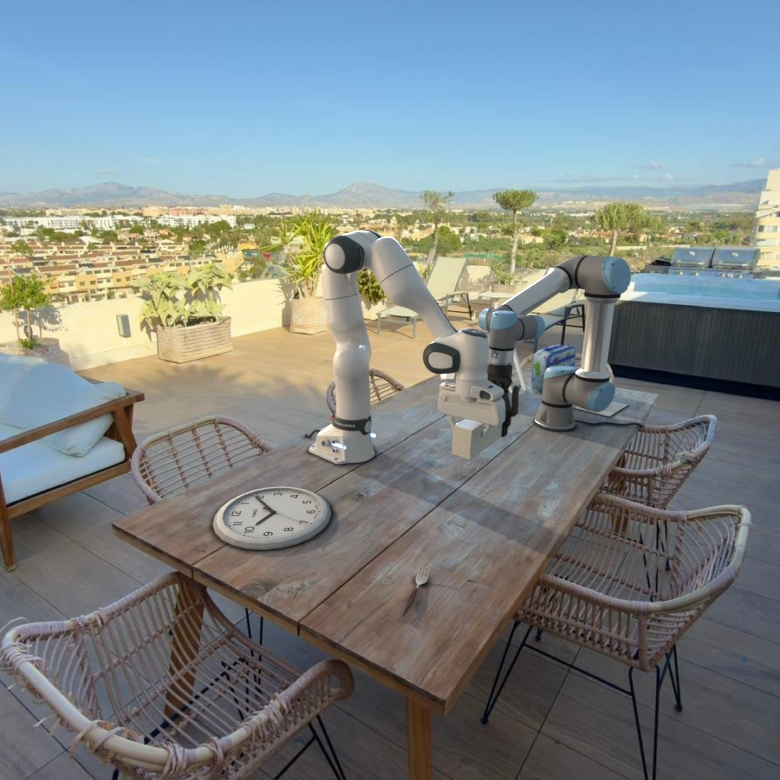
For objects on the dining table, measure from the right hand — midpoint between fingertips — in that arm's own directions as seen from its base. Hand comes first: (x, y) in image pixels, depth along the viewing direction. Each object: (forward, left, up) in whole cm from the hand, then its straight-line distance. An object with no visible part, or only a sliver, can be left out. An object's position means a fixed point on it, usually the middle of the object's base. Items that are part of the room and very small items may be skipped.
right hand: (494, 432), depth 166 cm
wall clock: (+59, +41, -11) cm, 73 cm away
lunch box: (-34, -89, -11) cm, 96 cm away
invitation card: (-51, -66, -11) cm, 84 cm away
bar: (+5, +8, 0) cm, 9 cm away
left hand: (+9, +16, +6) cm, 19 cm away
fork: (+20, +66, -11) cm, 70 cm away
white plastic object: (+1, -78, -11) cm, 79 cm away
